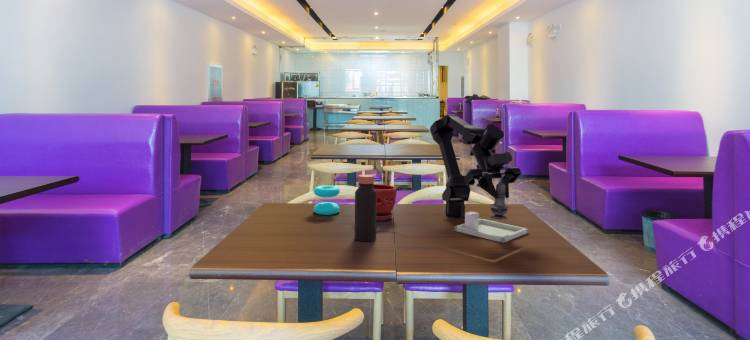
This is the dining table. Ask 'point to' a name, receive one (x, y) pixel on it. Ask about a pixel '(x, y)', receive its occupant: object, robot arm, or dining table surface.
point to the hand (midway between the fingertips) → (502, 198)
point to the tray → (493, 230)
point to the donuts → (326, 207)
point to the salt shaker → (499, 203)
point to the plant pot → (385, 201)
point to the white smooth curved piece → (471, 220)
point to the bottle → (365, 209)
